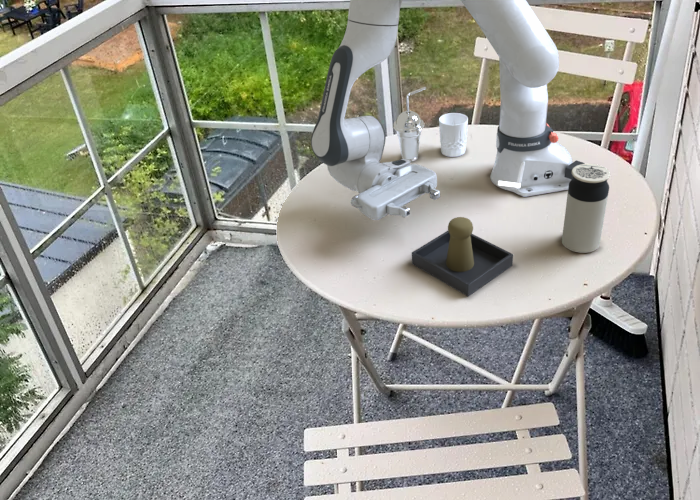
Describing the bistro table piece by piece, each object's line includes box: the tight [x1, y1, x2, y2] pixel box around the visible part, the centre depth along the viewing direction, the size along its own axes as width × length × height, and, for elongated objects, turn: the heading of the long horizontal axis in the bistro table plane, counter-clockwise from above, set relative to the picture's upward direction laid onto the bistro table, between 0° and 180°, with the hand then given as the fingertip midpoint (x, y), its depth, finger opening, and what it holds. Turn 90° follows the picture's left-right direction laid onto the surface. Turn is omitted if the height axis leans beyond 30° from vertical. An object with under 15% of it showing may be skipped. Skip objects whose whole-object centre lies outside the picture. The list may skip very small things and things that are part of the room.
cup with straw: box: [392, 86, 427, 163], centre depth 178 cm, size 8×9×20 cm
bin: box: [411, 230, 514, 297], centre depth 141 cm, size 16×14×3 cm
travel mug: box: [561, 163, 611, 254], centre depth 139 cm, size 8×8×18 cm
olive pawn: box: [446, 216, 474, 272], centre depth 139 cm, size 6×6×11 cm
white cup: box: [438, 112, 469, 158], centre depth 181 cm, size 8×8×10 cm
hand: (423, 204), depth 143 cm, fingers open, 8 cm apart
